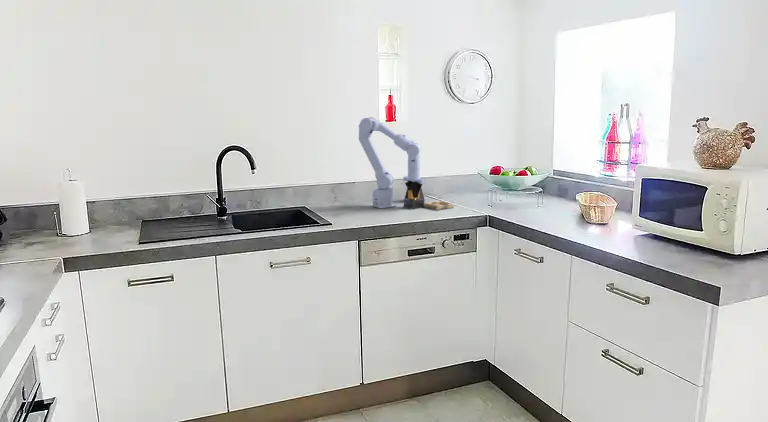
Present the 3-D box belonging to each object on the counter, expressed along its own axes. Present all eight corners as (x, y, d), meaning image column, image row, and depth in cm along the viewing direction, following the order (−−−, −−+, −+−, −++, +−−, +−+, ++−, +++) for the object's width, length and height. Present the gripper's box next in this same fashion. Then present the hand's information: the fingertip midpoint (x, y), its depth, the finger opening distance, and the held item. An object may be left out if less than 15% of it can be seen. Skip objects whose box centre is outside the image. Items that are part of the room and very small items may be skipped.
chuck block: (412, 209, 274) (412, 200, 273) (403, 207, 279) (403, 198, 278) (424, 207, 277) (424, 199, 277) (415, 205, 283) (415, 197, 282)
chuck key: (411, 208, 276) (411, 190, 274) (408, 207, 278) (408, 190, 276) (419, 207, 279) (419, 189, 277) (416, 206, 281) (416, 189, 279)
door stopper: (404, 200, 296) (403, 177, 294) (412, 199, 300) (411, 176, 298) (416, 202, 290) (416, 179, 288) (424, 201, 294) (424, 178, 292)
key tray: (437, 210, 270) (437, 206, 270) (424, 207, 278) (424, 203, 278) (453, 207, 275) (453, 203, 275) (440, 204, 284) (440, 200, 283)
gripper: (429, 169, 271) (429, 198, 274) (411, 167, 283) (411, 194, 285) (417, 171, 267) (417, 199, 270) (399, 168, 279) (399, 195, 282)
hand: (413, 197), depth 277 cm, fingers closed on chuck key, 2 cm apart
